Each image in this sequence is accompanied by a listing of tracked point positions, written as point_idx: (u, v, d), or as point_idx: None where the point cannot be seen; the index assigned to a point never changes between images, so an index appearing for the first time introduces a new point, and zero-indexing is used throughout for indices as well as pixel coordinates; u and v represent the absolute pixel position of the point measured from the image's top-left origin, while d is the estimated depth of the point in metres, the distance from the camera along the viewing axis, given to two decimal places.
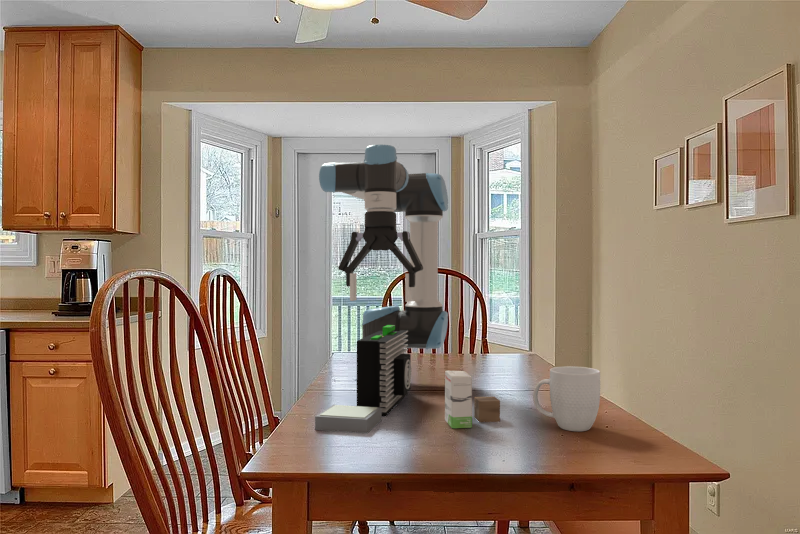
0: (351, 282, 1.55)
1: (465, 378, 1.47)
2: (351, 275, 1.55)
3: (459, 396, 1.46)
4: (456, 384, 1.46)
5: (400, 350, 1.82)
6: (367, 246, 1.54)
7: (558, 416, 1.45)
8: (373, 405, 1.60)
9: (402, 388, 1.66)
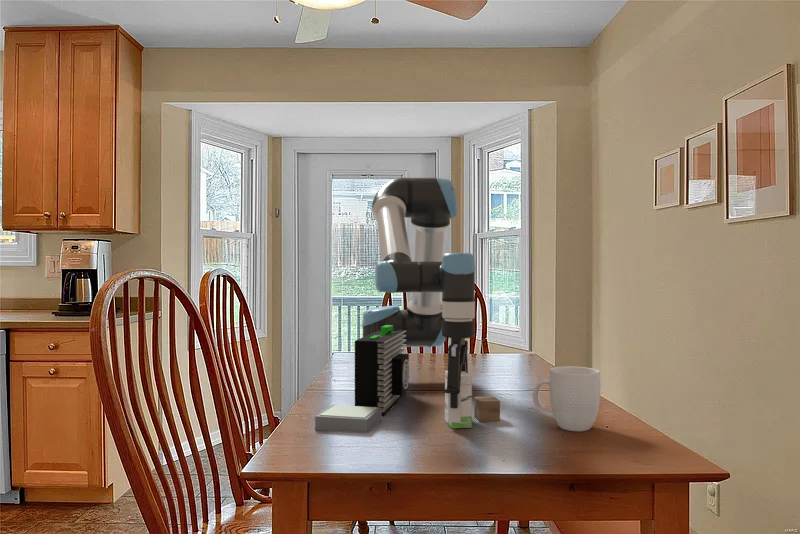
0: None
1: (465, 378, 1.47)
2: None
3: None
4: None
5: (398, 350, 1.82)
6: None
7: (558, 416, 1.45)
8: (371, 405, 1.60)
9: (400, 388, 1.66)
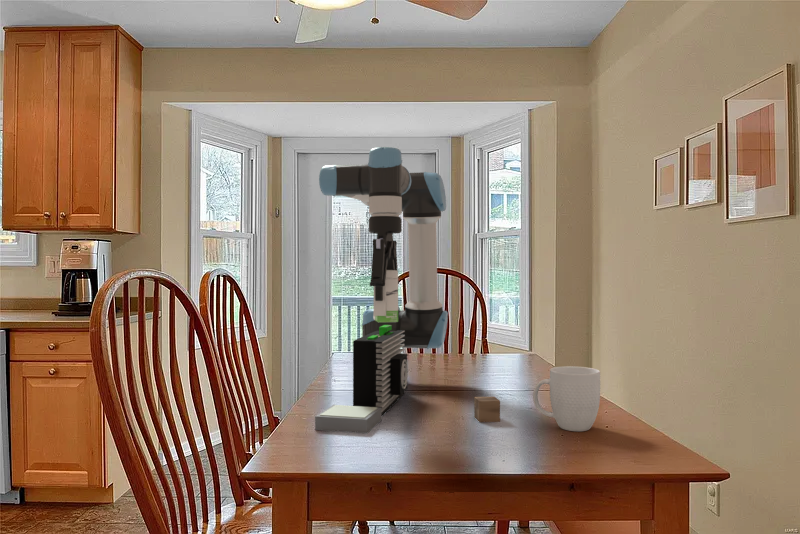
0: None
1: (391, 272, 1.46)
2: None
3: None
4: None
5: (397, 350, 1.82)
6: None
7: (558, 416, 1.45)
8: (369, 405, 1.61)
9: (398, 388, 1.67)
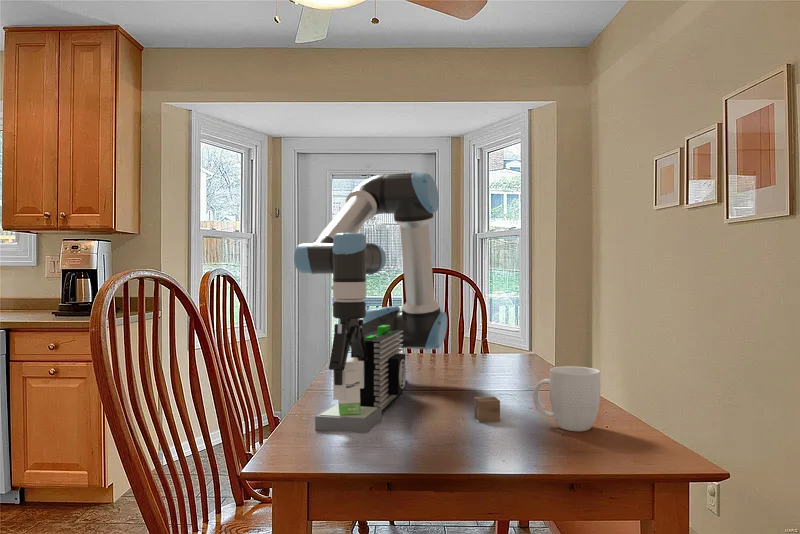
0: None
1: (352, 364, 1.45)
2: None
3: (346, 382, 1.45)
4: None
5: (395, 350, 1.82)
6: None
7: (558, 416, 1.45)
8: (367, 405, 1.61)
9: (396, 387, 1.67)
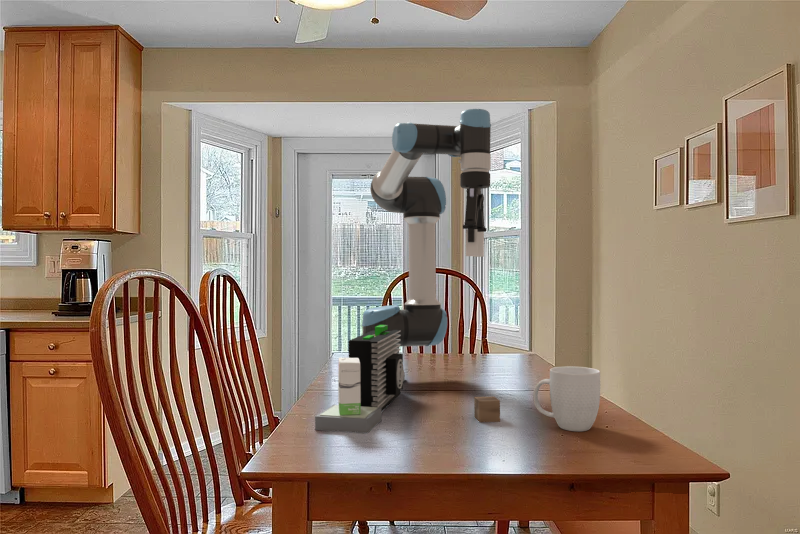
0: None
1: (353, 364, 1.45)
2: None
3: (346, 382, 1.45)
4: (344, 370, 1.45)
5: (393, 350, 1.82)
6: None
7: (558, 416, 1.45)
8: (365, 405, 1.61)
9: (394, 387, 1.67)
